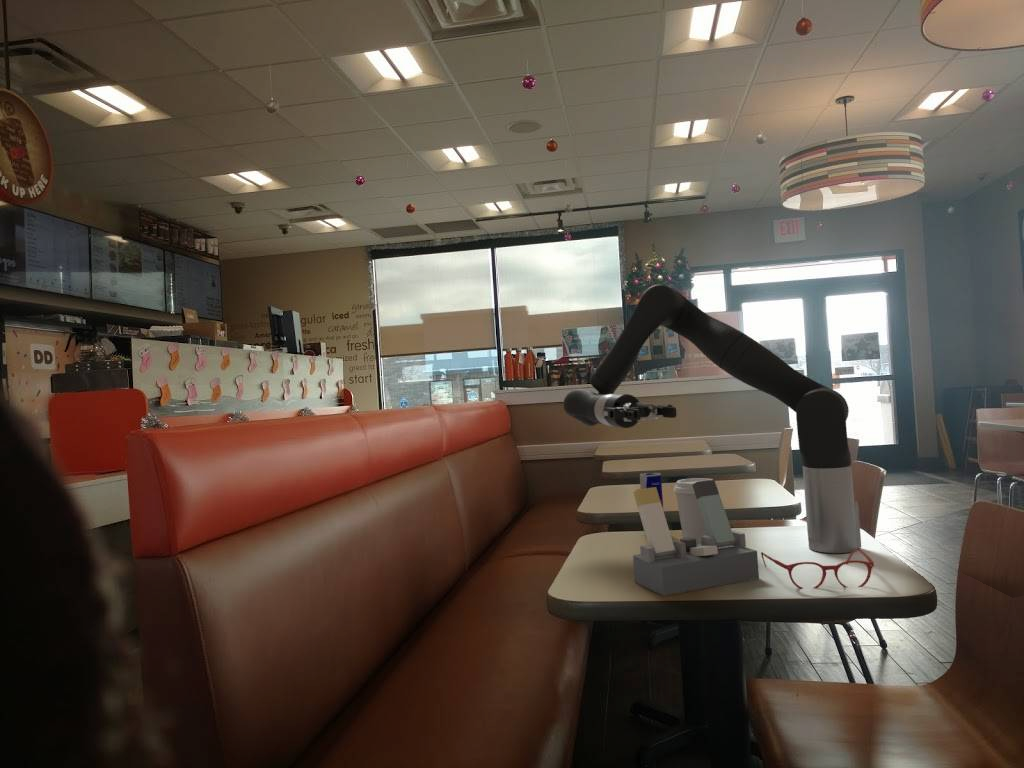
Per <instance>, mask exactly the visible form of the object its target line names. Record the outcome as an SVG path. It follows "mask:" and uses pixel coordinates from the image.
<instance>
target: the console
mask: <svg viewBox="0 0 1024 768" xmlns="http://www.w3.org/2000/svg"><path fill="white" fill-rule="evenodd" d="M732 533H733V536H734V538H735V539H736V545H731V546H725V547H719V548H717V546H716V543H715V538H713V537H709V536H706V535H705V536H701V544H700V545H697V542H696V539H695V538H683V537H682V538H680V539H678V540H677V539H675V540H673V539H672V541H673V544H674V547H675V548H676V550H677V554H676V555H671V556H665V557H659V558H654V548H652V547H649V545H646V544H643V545H639V548H640V549H639V551H640V554H639V553H638V554H633V555H632V559H633V560H632V562H633V573H634V583H636V584H638V585H640V586H642V587H643V588H646V589H649V590H650V591H652V590H653V592H655V593H657V594H658V595H660V596H663V597H665V596H671V595H678V594H681V593H688V592H692V591H699V590H703V589H708V588H713V587H718V586H719V587H720V586H725V585H730V584H735V583H740V582H746V581H747V582H748V581H751V580H756V579H759V578H760V576H759V575H760V574H759V573H760V572H759V571H760V570H759V559H758V558H759V557H758V551H757V550H756V549H752V548H750V547H747V545H746V543H747V541H746V533H744V532H740V531H736V530H732ZM687 591H688V592H687Z"/></svg>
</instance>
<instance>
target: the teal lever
mask: <svg viewBox="0 0 1024 768" xmlns="http://www.w3.org/2000/svg"><path fill="white" fill-rule="evenodd" d="M716 485H717V484H716V481H715V479H713V480H707V481H700V482H696V483H694V484H693V485H692V486H693V489H694V492H695V495H696V498H697V501H698V504H699V507H700V510H701V513H702V517H703V520H704V523H705V526H706V529H707V532H708V535H709V537H713V538H715V543H716V546H717V548H719V547H725V546H731V545H736V539H735V538H734V536H733V533H732V531H733V530H732V528H731V524H730V522H729V519H728V515H727V514H726V509H725V507H724V504H723V502H722V499H721V495H720V493H719V490H718V489H719V488H718V489H717V487H718V485H717V486H716Z"/></svg>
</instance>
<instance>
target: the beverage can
mask: <svg viewBox="0 0 1024 768" xmlns="http://www.w3.org/2000/svg"><path fill="white" fill-rule="evenodd" d="M661 475H662V474H661V472H645V473H644V472H643V473H640V474H639V485H640V489H644V488H652V487H656V488H657V492H658V495H659V498H660V502H661V505H662V508H663V511H664V512H665V509H664V499H663V486H662V484H663V483H662V476H661ZM643 532H644V533H645V531H644V530H643Z"/></svg>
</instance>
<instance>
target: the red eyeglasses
mask: <svg viewBox="0 0 1024 768" xmlns="http://www.w3.org/2000/svg"><path fill="white" fill-rule="evenodd" d="M855 552H859V553H861V555H863V557H865V559H866V560H867V561H864V560H851V557H853V554H854V553H855ZM760 555H761V559H762V561H763V564H764V567H765V568H766V567H767V564H766V561H765V559H764V557H765V558H767V559H768V560H770V561H771V562H772V563H775V564H776V565H777V566H779V567H781V568H782V569H785V570H787V571H788V576H789V579H790V581H791V582H792V584H793V585H794V586H795V587H796V588H798V589H804V587H802V586H800V585H798V584H797V583H796V582H795V581H794V578H793V575H792V572H793V569H795V567H798V566H800V565H814V566H817V567H819V568H820V569H821V571H822V574H821V579H820V581H819V583H818V584H817V585H815V586H814V587H813V589H818V588H820V587H821V586H822V585H823V583H824V582H825V579H826V576H827V571H831V570H832V571H833V573H834V576H835V578H836V580H837V582H838V583H839V585H841V586H842V587H843V588H845V589H847V588H849V586H847V585H845V584H843V583H842V582H841V580H840V579H839V577H838V571H839V570H840V568H841V567H842V566H844V565H849V564H852V563H853V564H854V563H855V564H856V563H857V564H858V563H859V564H863V565H864V566H866V568H867V575H866V578H865V579H864V581H863V582H862V584H860V585H857V586H858V587H857V588H863V587H864V586H865V585H867V584H868V582H869V580H870V578H871V575H872V569H873V567H875V563H874V561H873V559H871V557H869V555H867V554H866V553H865V552H864V551H863V550H862V549H861V548H858V549H855V550H853V551H852V552H850V554H849V556H848V557H847V559H846V560H845V561H842V562H840V563H838V564H837V565H835V564H834V565H822V564H820V563H818V562H814V561H801V562H796V563H795V562H794V563H791V564H785V563H783V562H781V561H779V560H777V559H775V558H773V557H771V556H770V555H767V554H766V553H764V552H763V551H762V552H760ZM846 587H847V588H846Z"/></svg>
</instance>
